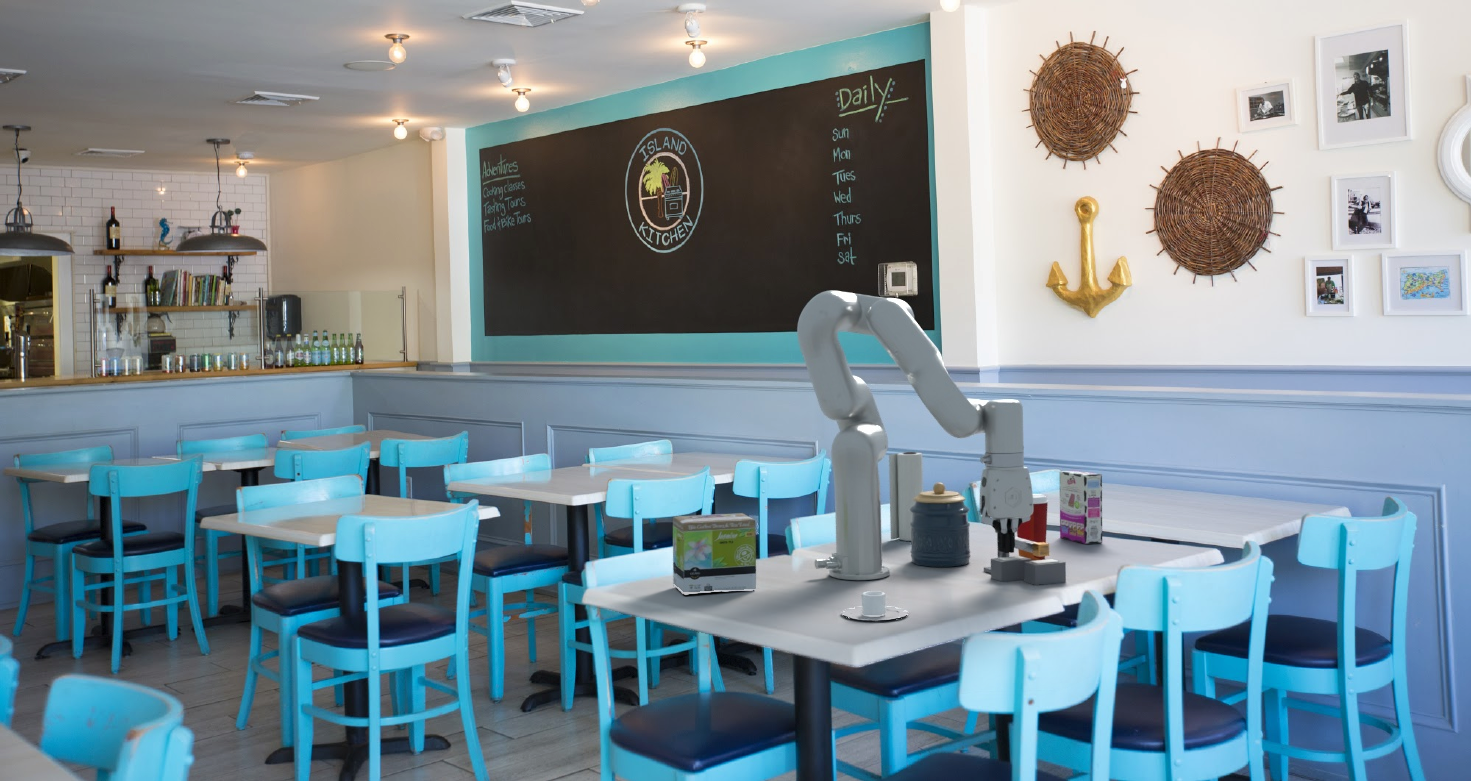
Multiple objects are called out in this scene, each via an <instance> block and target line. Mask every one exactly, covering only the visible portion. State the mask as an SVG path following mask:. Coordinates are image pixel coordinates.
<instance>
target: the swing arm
mask: <svg viewBox="0 0 1471 781" xmlns="http://www.w3.org/2000/svg"><path fill="white" fill-rule="evenodd" d="M1014 549H1017V550H1018V549H1020V550H1024V551H1027V552H1031V553H1033V555H1034V556H1038V557H1041V556H1045V557H1048V556H1050V543H1048V542H1046V543H1045V542H1040V543H1037V542H1033V541H1030V540H1026V539H1022V538H1018V537H1017V536H1015V547H1014Z"/></svg>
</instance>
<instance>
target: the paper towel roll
mask: <svg viewBox="0 0 1471 781" xmlns="http://www.w3.org/2000/svg"><path fill="white" fill-rule="evenodd" d="M888 469H889V470H888V475H889V476H888V477H889V480H888V481H889V518H890V519H889V521H890V522H889V523H890V540H896V539H899V540H900V541H907V542H908V541H909V542H911V526H910V523H911V522H912V512H911V511H910V508H911V507H913V506H914V505H915V503H916V501H914V497H916V496H918V495H919V494H920V493H921V492H924V486H923V485H924V481H923V480H924V477H923V476H924V475H923V472H924V471H923V453H922V452H914V451H912V452H911V451H908V452H905V451H904V452H899V453H892V454H888Z"/></svg>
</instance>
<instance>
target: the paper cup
mask: <svg viewBox="0 0 1471 781" xmlns="http://www.w3.org/2000/svg"><path fill="white" fill-rule="evenodd" d="M1048 503H1050V500H1048V497H1047V495H1045V494H1043V493H1033V514H1032V515H1030V520H1029V521H1026V522H1024V523H1021V525H1020V526H1019V527H1018V529H1017V532H1016V537H1018V538H1022V539H1026V540H1030V541H1033V542H1037V543H1040V542H1045V543H1047V532H1048V531H1047V526H1048V525H1047V523H1048ZM1017 550H1018V556H1022V557H1026V558H1029V559H1031V561H1036V560H1046V556H1041V557H1038V556H1034V555H1033V553H1031V552H1027V551H1024V550H1020V549H1017Z"/></svg>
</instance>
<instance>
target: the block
mask: <svg viewBox="0 0 1471 781" xmlns="http://www.w3.org/2000/svg"><path fill="white" fill-rule="evenodd" d="M1029 561H1031V559H1029V558H1026V557H1022V556H1019V555H1014V556H1013V555H1012V556H1009V557H1001V558H998V557H995V558H990V567H991V573H990V579H992V580H995V581H999V582H1001V583H1002V582H1003V583H1005V582H1011V581H1012V582H1013V581H1021V580H1022V581H1023V580H1024V562H1029Z"/></svg>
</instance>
